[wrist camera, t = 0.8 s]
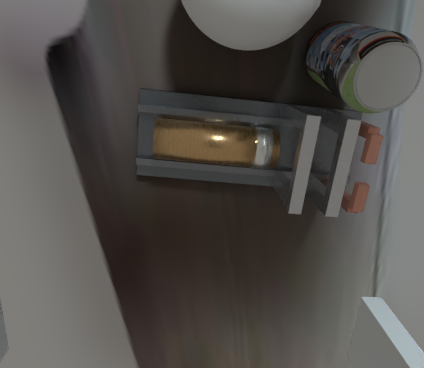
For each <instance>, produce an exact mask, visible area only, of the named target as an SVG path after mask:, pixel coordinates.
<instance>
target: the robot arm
mask: <svg viewBox="0 0 424 368" xmlns="http://www.w3.org/2000/svg"><path fill="white" fill-rule="evenodd" d="M8 349H9V348H8V342H7V336H6V330H5V324H4V318H3V312H2V306H1V301H0V362H1V360H2V358H3V357H4V355H5V354H6V352H7V351H8ZM347 355H348V357H349V359H350V361H351V363H352V365H353V367H354V368H424V353H423V351H422V350H421V349H420V348H419V346H418V345H417V343H416V342H415V341H414V340H413V338H412V337H411V336H410V334H409V333H408V332H407V330H406V329H405V328H404V327H403V325H402V324H401V323H400V322H399V320H398V319H397V317H396V316H395V315H394V314H393V312H392V311H391V310H390V308H389V307H388V306H387V304H386V303H385V302H384V301H383V299H382V298H381V297H361V300H360V304H359V308H358V312H357V316H356V320H355V324H354V328H353V332H352V336H351V340H350V345H349V349H348V353H347Z"/></svg>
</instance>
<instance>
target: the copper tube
mask: <svg viewBox="0 0 424 368" xmlns="http://www.w3.org/2000/svg"><path fill="white" fill-rule="evenodd" d="M280 144H281V139H280V132H279V130H277V129H271V128H262V127H246V126H236V125H226V124H216V123H206V122H196V121H186V120H175V119H165V118H156V121H155V127H154V137H153V158H154V159H165V160H176V161H187V162H198V163H209V164H220V165H232V166H243V167H251V168H259V169H275V167H276V165H277V162H278V159H279V154H280Z"/></svg>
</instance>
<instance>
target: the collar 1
mask: <svg viewBox="0 0 424 368" xmlns="http://www.w3.org/2000/svg"><path fill="white" fill-rule="evenodd" d="M284 118H285V119H286V121H288V122H289V123H290V124H292V125H293V126H295V127H296V128H298V129H299V130H300V132H299V138H298V143H297V148H296V154H295V159H294V164H293V169H292V175H291V180H289V179H288V178H287V177H282V176H276V177H274V179H273V185H272V187H273V189H274V190H275V192H276V194H277V195H278V197H279V199H280V200H281V202H282V204H283V205H284V207H285V209H286V210H287V212H288V213H290V214H301V212H302V207H303V202H304V198H305V193H306V188H307V183H308V178H309V173H310V169H311V164H312V159H313V154H314V149H315V144H316V140H317V135H318V130H319V125H320V120H321V116H319V115H317V114H315V113H313V112H311V111H308V110H306V109H304V108H302V107H300V106H298V105H288V104H286V110H285V116H284Z"/></svg>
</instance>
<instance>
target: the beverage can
mask: <svg viewBox="0 0 424 368" xmlns="http://www.w3.org/2000/svg"><path fill="white" fill-rule="evenodd" d="M305 63H306V68H307V71H308V73H309V75H310V76H311V77H312V78H313V79H314V80H315V81H316V82H317V83H319V84H320V85H321V86H323V87H324V88H326V89H327V90H328V91H330V92H331V93H332V94H334V95H335V96H336V97H338V98H339V99H340V100H342V101H343V102H345V103H346V104H347V105H349V106H350V107H351V108H353V109H355V110H357V111H359V112H364V113H379V112H383V111H388V110H391V109H394V108H396V107H398V106H400V105H401V104H403V103H404V102H406V101H407V100H408V99H409V98H410V97H411V96H412V94H413V93H414V92H415V90H416V89H417V87H418V85H419V82H420V80H421V76H422V61H421V58H420V56H419V52H418V50H417V48H416V46H415V45H414V43H413V42H412V41H411V40H410V39H409V38H408V37H407V36H405V35H403V34H401V33H398V32H394V31H389V30H384V29H379V28H374V27H369V26H364V25H359V24H355V23H350V22H343V21H339V22H333V23H330V24H328V25H326V26H324V27H323V28H321V29H320V30H319V31H318V32H317V33H316V34H315V35H314V36H313V38H312V39H311V41H310V43H309V45H308V47H307V50H306V56H305Z"/></svg>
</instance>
